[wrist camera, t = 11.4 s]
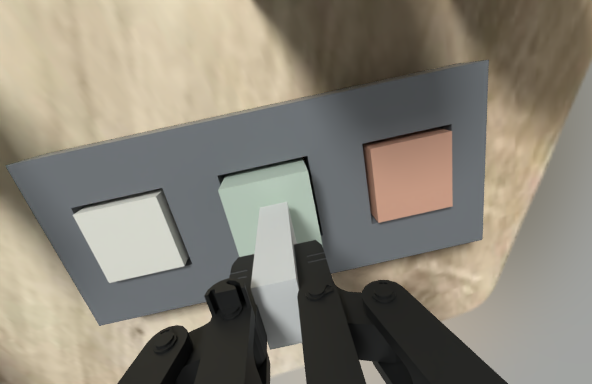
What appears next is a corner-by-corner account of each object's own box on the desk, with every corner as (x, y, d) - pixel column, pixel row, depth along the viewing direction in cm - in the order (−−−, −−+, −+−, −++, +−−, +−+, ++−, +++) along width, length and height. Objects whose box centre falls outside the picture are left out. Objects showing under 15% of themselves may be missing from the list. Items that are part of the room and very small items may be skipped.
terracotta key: (363, 203, 22) (378, 222, 19) (354, 139, 20) (370, 149, 17) (426, 189, 22) (452, 206, 19) (424, 124, 20) (452, 131, 17)
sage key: (246, 239, 20) (242, 266, 17) (226, 173, 19) (217, 190, 16) (315, 223, 20) (323, 248, 17) (301, 156, 19) (307, 170, 16)
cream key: (132, 255, 22) (109, 283, 19) (103, 195, 20) (72, 215, 17) (196, 240, 22) (184, 266, 19) (173, 179, 20) (155, 196, 17)
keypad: (120, 296, 23) (99, 325, 20) (44, 153, 19) (5, 165, 16) (456, 221, 23) (482, 239, 21) (456, 63, 19) (488, 59, 16)
